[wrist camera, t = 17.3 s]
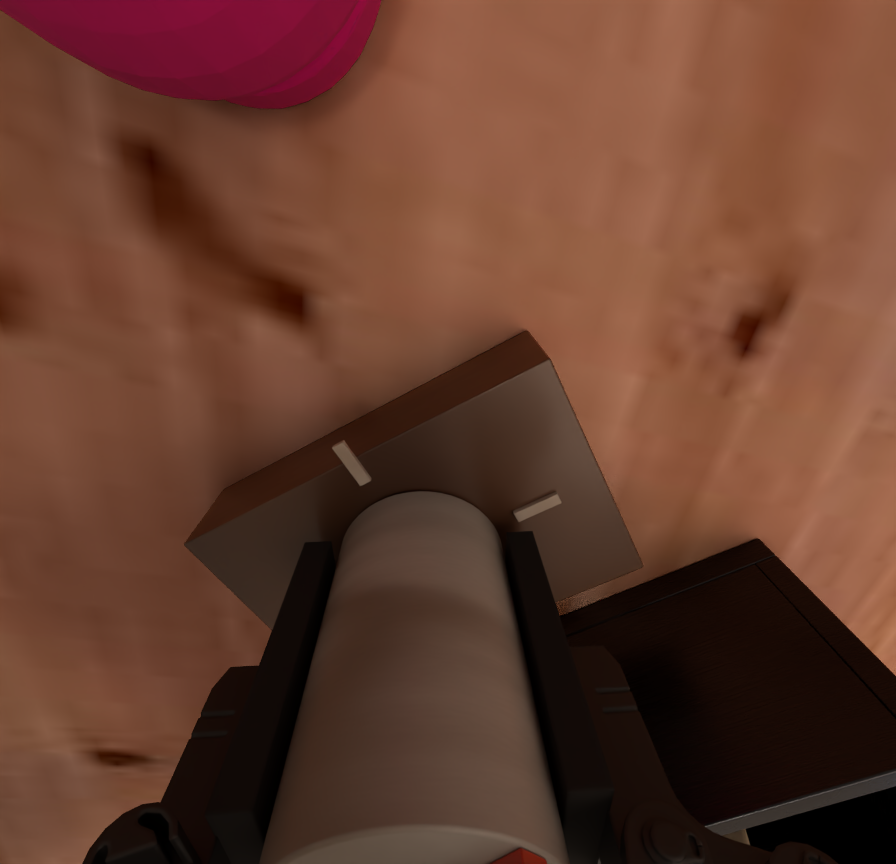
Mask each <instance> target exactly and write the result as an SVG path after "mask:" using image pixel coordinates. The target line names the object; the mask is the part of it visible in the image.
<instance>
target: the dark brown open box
mask: <svg viewBox="0 0 896 864" xmlns="http://www.w3.org/2000/svg"><path fill="white" fill-rule="evenodd" d="M560 619H561V622H562V625H563V628H564V632H565V635H566V638H567V641H568V644H569V647H580V646H598V645H603V646H604V647H605V648H606V649H607V650H608V651H609V652H610V654H611V655H612V656H613V657H614V658H615V659H616V660H617V662H618V663H619V664H620V666H621V668H622V670H623V673H624V675H625V678H626V680H627V682H628V685H629V687H630V692H632V694H633V697H634V699H635V702H636V704H637V706H638V711H639V712H640V714H641V716H642V718H643V721H644V723H645V726H646V728H647V730H648V733H649V735H650V738H651V740H652V742H653V745H654V747H655V750H656V752H657V754H658V757H659V759H660V762H661V764H662V766H663V769H664V771H665V774H666V776H667V778H668V781H669V783H670V786H671V787H672V789H673V791H674V793H675V795H676V797H677V799H678V800H679V801H680V803H681V804H682V805H683V807H684V808H685V809H686V810H687V812H688V813H690V814H691V815H692V816H693V817H694V818H695V819H696V820H697V821H698V822H699V823H701V824H702V825H703V826H705V827H706V828H708V829H709V830H711V831H712V832H715V833H717V834H719V835H721V836H722V835H726V834H729V833H733V832H736V831H740V830H743V829H746V833H747V836H748V839H749V843H750V845H751V846H754V847H757V848H760V849H763V850H766V851H769V852H772V853H773V851H774V850H775V848H776V846H777V845H780V844H783V843H786V842H789V841H792V842H798V843H803V844H808V845H810V846H812V847H814V848H816V849H818V850H820V851H822V852H823V853H825V854H827V855H829V856H830V857H831V858H832V859H833V860H834V861H836V862H837V863H838V864H896V676H895V675H894V674H893V673H892V672H891V671H890V670H889V669H888V668H887V667H886V666H885V665H884V664H883V663H882V662H881V661H880V660H879V659H878V658H877V657H876V656H875V655H874V654H873V653H872V652H871V651H870V650H869V649H868V648H867V647H866V646H865V645H864V644H863V643H862V642H861V641H860V640H859V639H858V638H857V637H856V636H855V635H854V634H853V633H852V632H851V631H850V630H849V629H848V628H847V627H846V626H845V625H844V624H843V623H842V622H841V621H840V620H839V619H838V618H837V616H836V615H835V614H834V613H833V612H832V611H831V610H830V609H829V608H828V607H827V606H826V605H825V604H824V603H823V602H822V601H821V600H820V599H819V598H818V597H817V596H816V595H815V594H814V593H813V592H812V591H811V590H810V589H809V588H808V587H807V586H806V585H805V584H804V583H803V582H802V581H801V580H800V579H799V578H798V577H797V576H796V575H795V574H794V573H793V572H792V571H791V570H790V569H789V568H788V567H787V566H786V565H785V564H784V563H783V562H782V561H781V560H780V559H779V558H778V557H777V556H775V554H774V553H773V552H772V551H771V550H770V549H769V548H768V547H767V546H766V545H765V544H764V543H763V542H762V541H761V540H760V539H757V540H754V541H752V542H749V543H747V544H744V545H742V546H739V547H737V548H734V549H732V550H729V551H727V552H724V553H722V554H719V555H716V556H714V557H711V558H709V559H706V560H704V561H701V562H699V563H696V564H694V565H691V566H689V567H686V568H684V569H681V570H679V571H676V572H674V573H671V574H669V575H666V576H663V577H661V578H658V579H656V580H653V581H651V582H648V583H646V584H643V585H641V586H638V587H636V588H633V589H631V590H628V591H626V592H623V593H621V594H618V595H615V596H613V597H610V598H608V599H605V600H603V601H600V602H598V603H595V604H593V605H590V606H588V607H585V608H583V609H580V610H578V611H575V612H573V613H570V614H568V615H565V616H562V617H560ZM598 864H601V862H600V858H599V860H598Z"/></svg>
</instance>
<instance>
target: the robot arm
mask: <svg viewBox="0 0 896 864" xmlns="http://www.w3.org/2000/svg"><path fill="white" fill-rule="evenodd" d="M335 568H336V564H335V558H334V553H333V548H332V542H331V541H322V542H305V543H304V546H303V549H302V551H301V554H300V557H299V559H298V562H297V565H296V567H295V570H294V573H293V576H292V578H291V581H290V584H289V586H288V589H287V592H286V594H285V597H284V600H283V603H282V605H281V608H280V611H279V613H278V616H277V619H276V621H275V624H274V627H273V630H272V632H271V635H270V638H269V640H268V643H267V646H266V648H265V651H264V654H263V656H262V659H261V662H260V665H259V666H242V667H230V668H229V669H228V670H227V672H226V673H225V674H224V675H223V676H222V677H221V679H220V680H219V681H218V682H217V683H216V684H215V686H214V687H213V688H212V690H211V692H210V694H209V696H208V698H207V701H206V703H205V705H204V707H203V710H202V712H201V717H200V718H198V721H197V723H196V725H195V727H194V729H193V732H192V737H191V739H189V741H188V743H187V745H186V747H185V749H184V752H183V754H182V756H181V758H180V761H179V763H178V765H177V767H176V769H175V772H174V774H173V776H172V778H171V780H170V783H169V785H168V787H167V789H166V792H165V794H164V796H163V798H162V800H161V803H159V802H156V803H148V804H142V805H140V806H138V807H136V808H134V809H132V810H130V811H128V812H125V813H124V814H122V815H121V816H120V817H119V818H118V819H116V820H115V821H114V822H113V823H112V824H110V825H109V826H108V827H107V828H106V829H105V830H104V831H103V832H102V834H101V835H100V836H99V837H98V839H97V840H96V841H95V842H94V844H93V845H92V846H91V847H90V849H89V851H88V853H87V855H86V857H85V859H84V861H83V864H259V861H260V857H261V854H262V850H263V846H264V842H265V838H266V834H267V830H268V827H269V823H270V819H271V815H272V811H273V807H274V803H275V800H276V796H277V792H278V788H279V784H280V780H281V776H282V773H283V769H284V765H285V761H286V757H287V753H288V749H289V746H290V742H291V738H292V734H293V730H294V726H295V722H296V719H297V715H298V711H299V707H300V703H301V699H302V696H303V692H304V688H305V684H306V680H307V676H308V672H309V669H310V665H311V661H312V657H313V653H314V649H315V645H316V642H317V638H318V634H319V630H320V626H321V622H322V618H323V615H324V611H325V607H326V603H327V599H328V595H329V591H330V588H331V584H332V580H333V576H334V572H335ZM506 568H507V572H508V577H509V582H510V586H511V591H512V596H513V600H514V605H515V609H516V614H517V619H518V623H519V628H520V633H521V637H522V642H523V647H524V651H525V656H526V661H527V665H528V670H529V675H530V679H531V684H532V689H533V693H534V698H535V703H536V707H537V712H538V717H539V721H540V726H541V731H542V735H543V740H544V745H545V749H546V754H547V759H548V763H549V768H550V773H551V777H552V782H553V787H554V791H555V796H556V801H557V805H558V810H559V815H560V819H561V824H562V829H563V833H564V838H565V843H566V847H567V852H568V857H569V861H570V864H598V860H599V858H600V862H601V864H838V863H837V862H836V861H834V860H833V859H832V858H831V857H830V856H829V855H827V854H825V853H823V852H822V851H820V850H818V849H816V848H814V847H812V846H810V845H808V844H803V843H798V842H792V841H789V842H786V843H783V844H780V845H777V846H776V848H775V850H774V851H773V853H772V852H769V851H766V850H763V849H760V848H757V847H754V846H751V845H747V844H744V843H741V842H738V841H735V840H732V839H729V838H726V837H724V836H721V835H719V834H717V833H715V832H712V831H711V830H709V829H708V828H706V827H705V826H703V825H702V824H701V823H699V822H698V821H697V820H696V819H695V818H694V817H693V816H692V815H691V814H690V813H688V812H687V810H686V809H685V808H684V807H683V805H682V804H681V803H680V801H679V800H678V799H677V797H676V795H675V793H674V791H673V789H672V787H671V786H670V783H669V781H668V778H667V776H666V774H665V771H664V769H663V766H662V764H661V762H660V759H659V757H658V754H657V752H656V750H655V747H654V745H653V742H652V740H651V738H650V735H649V733H648V730H647V728H646V726H645V723H644V721H643V718H642V716H641V714H640V712H639V711H638V706H637V704H636V702H635V699H634V697H633V694H632V692H630V687H629V685H628V682H627V680H626V678H625V675H624V673H623V670H622V668H621V666H620V664H619V663H618V662H617V660H616V659H615V658H614V657H613V656H612V655H611V654H610V652H609V651H608V650H607V649H606V648H605V647H604V646H603V645H598V646H580V647H569V644H568V641H567V638H566V635H565V632H564V628H563V625H562V622H561V619H560V616H559V613H558V610H557V606H556V603H555V600H554V597H553V594H552V591H551V588H550V584H549V581H548V578H547V575H546V572H545V569H544V566H543V562H542V559H541V556H540V553H539V550H538V547H537V544H536V540H535V537H534V534H533V531H519V532H506Z"/></svg>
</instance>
